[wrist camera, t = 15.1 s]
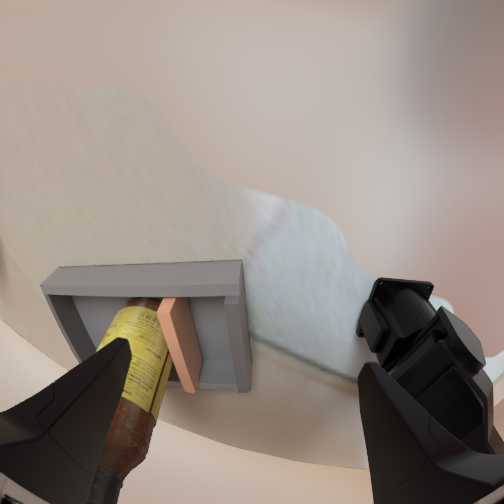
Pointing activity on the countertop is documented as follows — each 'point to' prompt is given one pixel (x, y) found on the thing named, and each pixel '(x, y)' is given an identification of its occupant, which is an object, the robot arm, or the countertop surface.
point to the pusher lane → (157, 287)
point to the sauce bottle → (133, 397)
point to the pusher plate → (181, 340)
